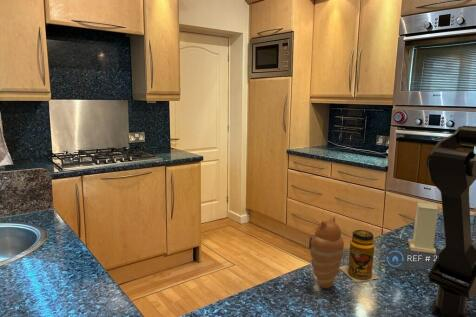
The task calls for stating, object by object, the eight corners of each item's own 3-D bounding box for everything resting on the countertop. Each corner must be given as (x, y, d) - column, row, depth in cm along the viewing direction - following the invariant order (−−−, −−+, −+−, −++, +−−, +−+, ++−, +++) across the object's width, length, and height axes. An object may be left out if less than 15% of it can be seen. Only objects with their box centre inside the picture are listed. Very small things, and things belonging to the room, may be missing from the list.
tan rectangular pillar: (433, 249, 110) (438, 209, 108) (414, 246, 112) (419, 207, 110) (430, 243, 115) (435, 204, 113) (412, 240, 117) (417, 202, 114)
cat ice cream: (321, 275, 95) (325, 211, 92) (347, 287, 90) (353, 219, 86) (301, 286, 90) (304, 218, 86) (327, 300, 84) (332, 228, 81)
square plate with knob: (435, 253, 109) (437, 240, 109) (411, 250, 112) (412, 236, 111) (431, 244, 116) (433, 231, 115) (407, 241, 118) (409, 228, 117)
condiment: (356, 282, 92) (359, 239, 90) (337, 267, 100) (340, 227, 98) (379, 278, 94) (383, 236, 92) (359, 264, 102) (363, 224, 100)
